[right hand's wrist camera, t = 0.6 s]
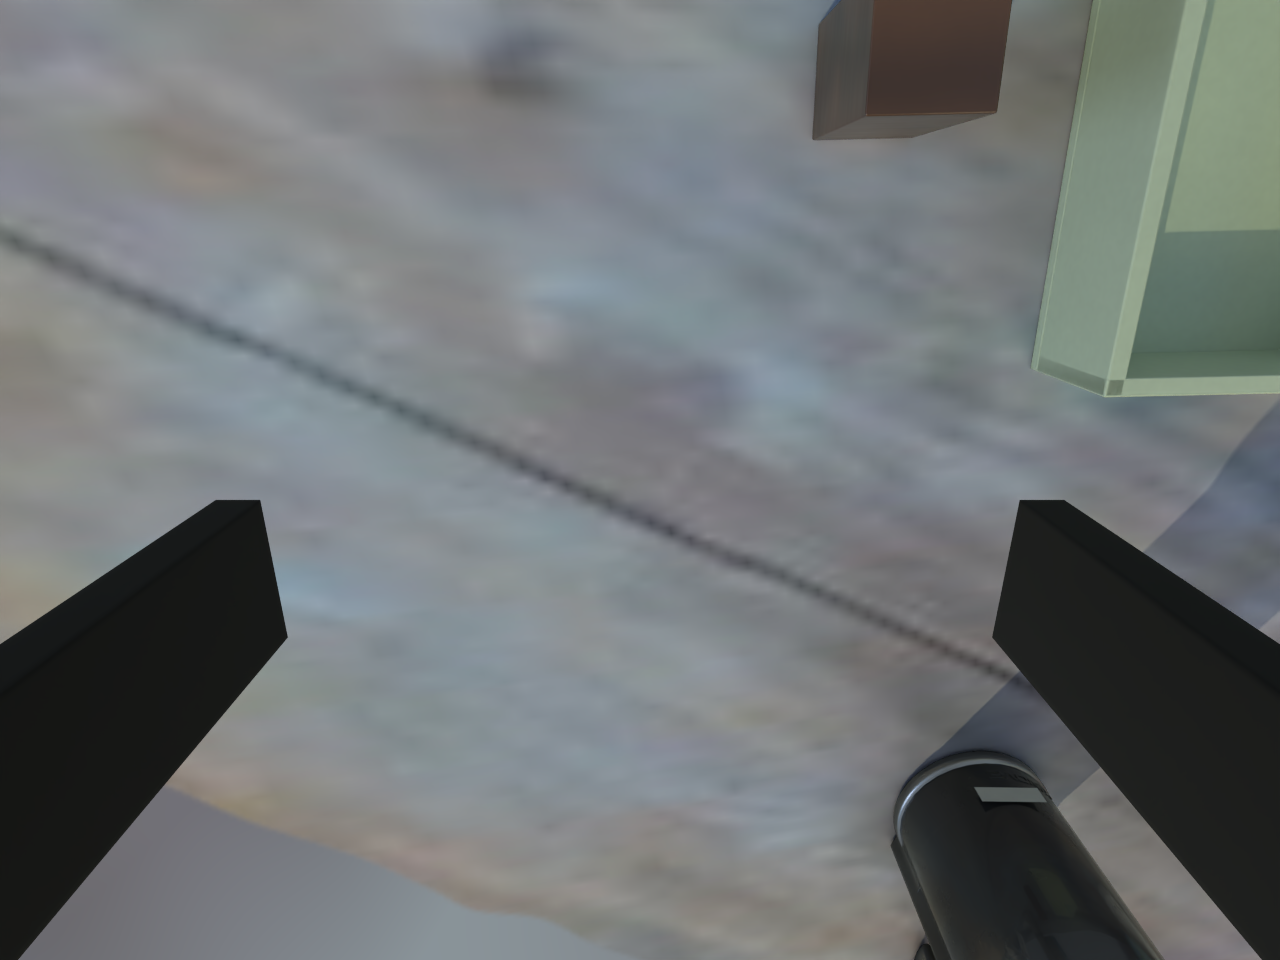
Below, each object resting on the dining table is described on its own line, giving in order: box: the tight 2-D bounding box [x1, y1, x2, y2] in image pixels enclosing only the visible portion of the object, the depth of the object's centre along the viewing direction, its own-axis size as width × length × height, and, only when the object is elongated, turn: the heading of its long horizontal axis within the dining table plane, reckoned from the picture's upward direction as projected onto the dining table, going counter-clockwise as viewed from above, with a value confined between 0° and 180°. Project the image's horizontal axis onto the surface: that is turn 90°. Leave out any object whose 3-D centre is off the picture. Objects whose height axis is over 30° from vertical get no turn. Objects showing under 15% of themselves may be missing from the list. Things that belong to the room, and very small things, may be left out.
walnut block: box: [813, 0, 1012, 140], centre depth 27 cm, size 4×4×8 cm
